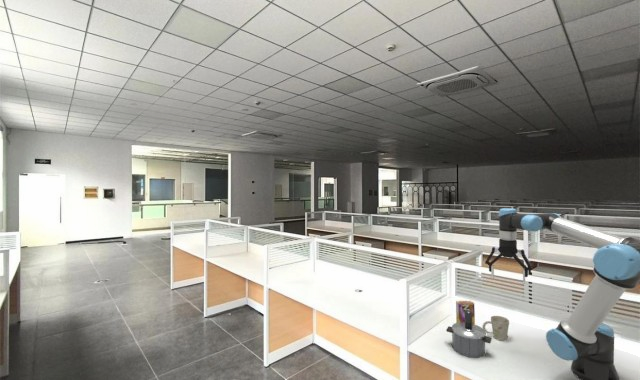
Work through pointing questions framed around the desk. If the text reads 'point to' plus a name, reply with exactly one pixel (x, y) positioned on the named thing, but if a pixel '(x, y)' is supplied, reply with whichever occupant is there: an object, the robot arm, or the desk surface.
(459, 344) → the pot
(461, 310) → the candy box
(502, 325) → the mug
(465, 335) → the lid
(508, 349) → the desk surface
